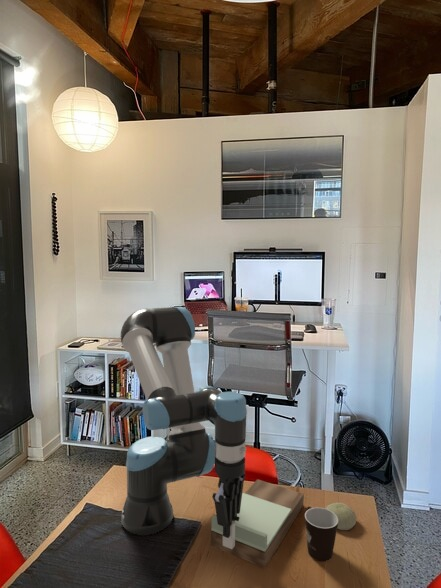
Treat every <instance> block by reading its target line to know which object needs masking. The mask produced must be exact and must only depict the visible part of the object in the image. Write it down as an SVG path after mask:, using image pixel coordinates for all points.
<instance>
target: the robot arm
mask: <svg viewBox="0 0 441 588" xmlns="http://www.w3.org/2000/svg"><path fill="white" fill-rule="evenodd" d="M121 326H122V327H121V330H120V342H121V345H122V347H123V349H124V350H125V351H126V352H127V353H129V356H130V359H131V362H132V364H133V367H134V370H135V372H136V375H137V377H138V380H139V382H140V385H141V389H142V391H143V393H144V396H145V399H146V400H145V401H143V404H142V418H143V423H144V425H145V427H146V428H147V430H149V431H156V430H167V429H170V428H171V430H170V432H169V433H168V440H166V439H165V438H163V437H161V436H153V435H152V436H147V437H143V438H140V439H138V440H136V441H135V442H134V443H132V444H131V446H130V447H129V448H128V449H127V453H126V462H125V467H126V488H127V489H126V494H127V495H126V498H125V501H124V504H123V508H122V511H121V516H120V517H121V526H122V525H123V526H122V528H123V527H124V528H125V529H126V530H128V531H129V532H130V534H132V533H133V535H135V534H137V535H136V536H150V534H152V535H155V534H157V533H156V532H158V533H160V532H159V531H161V530H162V529H164V528H166V527H167V526H168V525H169V524H170V523H172V522H173V520H172V519H174V508H173V505H172V503H171V501H170V497H169V493H168V484H170V483H175V482H179V481H182V480H183V481H184V480H187V479H191V478H195V477H201V476H203V475H207V474H209V473H210V472H211V471H213V469H214V472H215V474H216V475H217V476H218V483H217V486H218V487H217V488H218V490H217V492H213V493H212V500H213V502H214V508H215V513H216V514H215V515H216V516H217V523H218V525H221V526H223V546H225V547H227V548H230V549H233V548H234V546H235V520H236V521H239V518H240V517H237V514H239V513H240V508H241V499H242V493H243V490H244V482H245V478H246V452H247V447H246V438H247V437H246V436H247V433H246V432H247V415H248V414H247V413H248V409H247V399H246V397H245V396H244V395H243V394H242V393H241V392H238V393H237V392H236V391H223V392H222V391H221V390H219V389H218V388H215V387H213V386H212V385H203V386H201V387H199V389H197V390H196V391H195V387H194V386H195V385H194V380H193V375H192V370H191V364H190V363H191V362H190V356H189V352H188V351H189V348H190V347H191V345H192V341H193V339H194V338H195V336H196V331H195V330H196V325H195V321H194V318H193V315H192V313H191V311H189V310H188V309H187V308H186V307H182V306H180V307H179V306H170V307H157V308H156V307H153V308H142V309H141V308H140V309H138V310H136V311H134V312H132V313H131V314H130V315H129V316H128V317H127V318H126V320H125V321H124V322H123V324H122V325H121ZM154 344H155V346H154ZM155 347H156V348H155ZM157 351H158V352H160V354H161V356H162V360H161V358H160V355H159V354H158V352H157ZM207 421H209V422H210V423H211V424H213V426H214V437H213V435H212V434H211V433H209V432H207V431H206V427H205V426H204V425H203V424H201V422H207ZM171 521H172V522H171ZM170 525H171V524H170ZM170 525H169V526H170ZM169 526H168V527H169ZM168 527H167V528H168ZM124 528H123V529H124ZM167 528H166V529H167ZM125 529H124V530H125ZM126 530H125V531H126ZM164 530H165V529H164ZM128 531H127V532H128ZM129 532H128V533H129ZM161 532H162V531H161ZM154 533H155V534H154Z"/></svg>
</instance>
